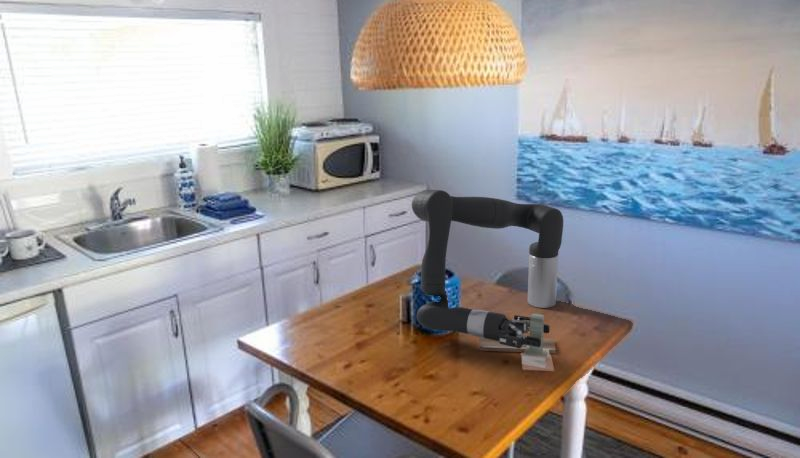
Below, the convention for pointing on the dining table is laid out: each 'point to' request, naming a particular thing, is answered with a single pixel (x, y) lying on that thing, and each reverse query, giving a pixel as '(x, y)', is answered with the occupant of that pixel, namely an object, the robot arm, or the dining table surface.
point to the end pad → (547, 368)
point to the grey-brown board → (496, 346)
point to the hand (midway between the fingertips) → (545, 336)
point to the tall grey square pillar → (532, 353)
